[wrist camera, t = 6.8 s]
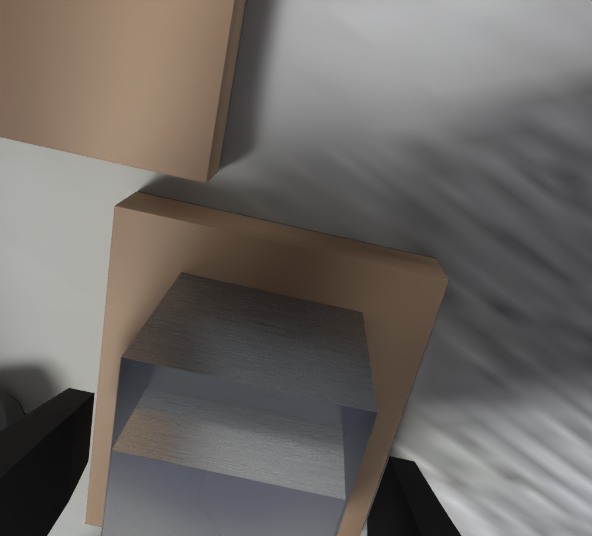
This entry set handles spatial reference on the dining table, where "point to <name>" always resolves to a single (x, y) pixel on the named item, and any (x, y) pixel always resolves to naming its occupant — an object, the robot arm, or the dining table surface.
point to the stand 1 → (121, 79)
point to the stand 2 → (274, 278)
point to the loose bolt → (9, 411)
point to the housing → (239, 416)
